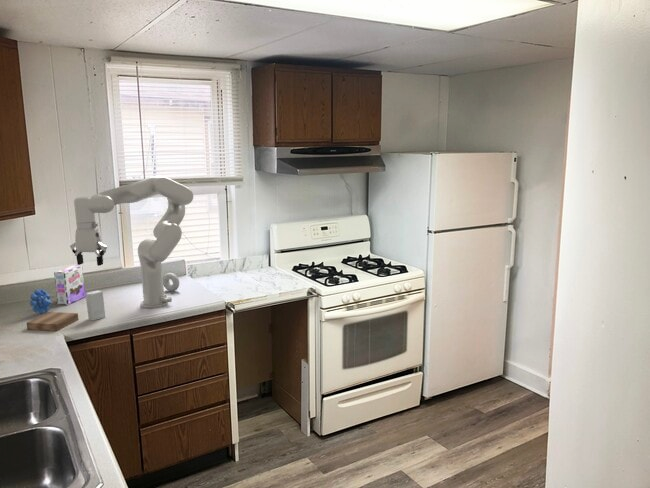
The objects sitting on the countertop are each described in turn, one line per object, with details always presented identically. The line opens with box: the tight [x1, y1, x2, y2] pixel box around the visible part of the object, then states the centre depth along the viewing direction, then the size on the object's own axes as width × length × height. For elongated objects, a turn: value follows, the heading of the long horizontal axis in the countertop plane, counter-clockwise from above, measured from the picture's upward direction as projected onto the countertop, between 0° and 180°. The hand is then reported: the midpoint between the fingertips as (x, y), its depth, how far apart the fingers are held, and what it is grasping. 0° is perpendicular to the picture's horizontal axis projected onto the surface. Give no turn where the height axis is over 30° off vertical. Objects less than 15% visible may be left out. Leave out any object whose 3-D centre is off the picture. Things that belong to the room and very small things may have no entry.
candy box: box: [53, 265, 86, 306], centre depth 256 cm, size 14×6×16 cm, turn 168°
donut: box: [163, 272, 180, 292], centre depth 271 cm, size 10×3×10 cm, turn 66°
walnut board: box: [26, 311, 79, 332], centre depth 224 cm, size 14×14×3 cm
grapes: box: [29, 288, 52, 315], centre depth 237 cm, size 12×7×12 cm, turn 166°
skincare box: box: [85, 290, 106, 321], centre depth 230 cm, size 6×4×12 cm
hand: (90, 264), depth 227 cm, fingers open, 9 cm apart
